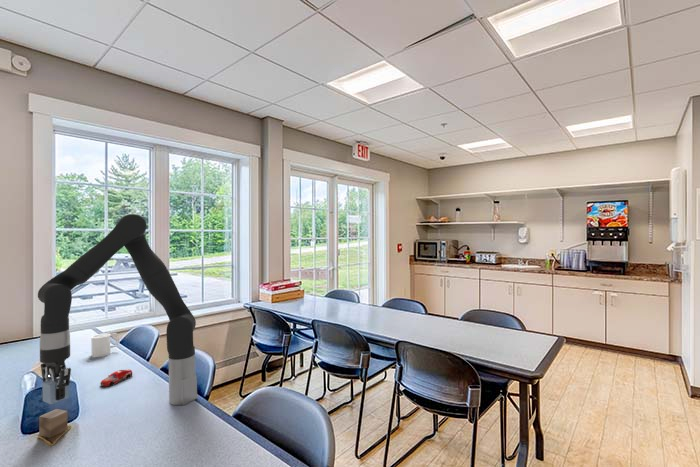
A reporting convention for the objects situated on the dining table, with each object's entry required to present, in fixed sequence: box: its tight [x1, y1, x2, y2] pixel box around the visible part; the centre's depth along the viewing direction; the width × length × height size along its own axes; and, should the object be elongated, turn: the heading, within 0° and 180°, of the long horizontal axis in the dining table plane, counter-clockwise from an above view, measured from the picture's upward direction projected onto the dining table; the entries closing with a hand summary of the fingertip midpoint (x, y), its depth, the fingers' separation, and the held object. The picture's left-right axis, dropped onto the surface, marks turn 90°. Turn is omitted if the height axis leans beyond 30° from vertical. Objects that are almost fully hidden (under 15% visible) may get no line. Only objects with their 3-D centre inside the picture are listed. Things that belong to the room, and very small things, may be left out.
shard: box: [37, 424, 72, 447], centre depth 111 cm, size 11×8×2 cm
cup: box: [90, 332, 119, 358], centre depth 187 cm, size 8×12×10 cm
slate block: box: [41, 377, 70, 405], centre depth 112 cm, size 5×5×6 cm
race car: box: [100, 368, 133, 388], centre depth 153 cm, size 13×5×4 cm, turn 162°
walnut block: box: [38, 408, 69, 438], centre depth 112 cm, size 5×5×6 cm
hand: (55, 397), depth 112 cm, fingers closed on slate block, 5 cm apart
